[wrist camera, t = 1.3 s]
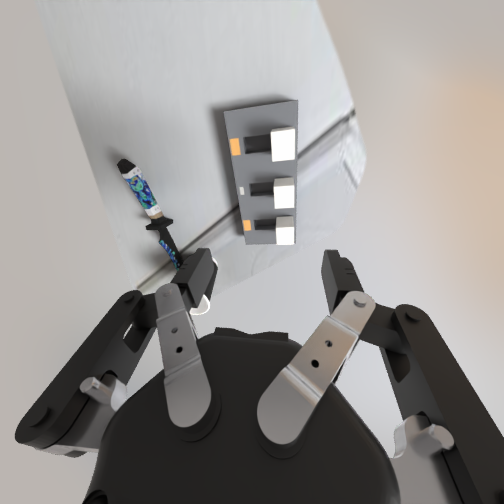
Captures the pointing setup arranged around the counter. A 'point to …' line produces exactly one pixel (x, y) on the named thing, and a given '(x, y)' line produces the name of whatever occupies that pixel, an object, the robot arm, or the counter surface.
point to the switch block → (260, 166)
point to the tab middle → (284, 193)
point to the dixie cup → (206, 294)
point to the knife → (150, 208)
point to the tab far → (285, 230)
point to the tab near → (283, 144)
